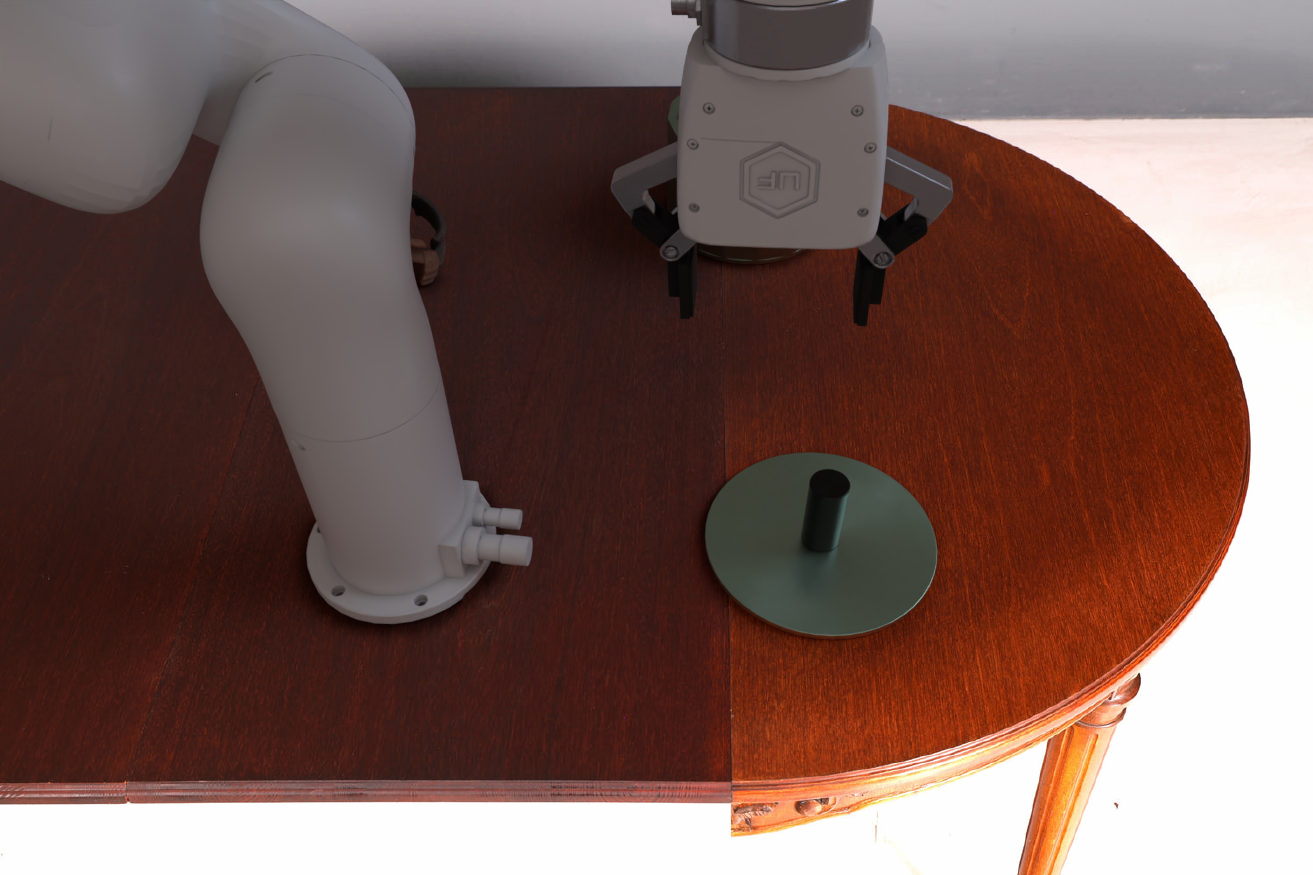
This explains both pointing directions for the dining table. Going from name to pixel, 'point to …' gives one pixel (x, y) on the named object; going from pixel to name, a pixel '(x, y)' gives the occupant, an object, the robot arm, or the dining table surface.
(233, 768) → the dining table surface
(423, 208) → the pottery mug
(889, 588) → the lid
